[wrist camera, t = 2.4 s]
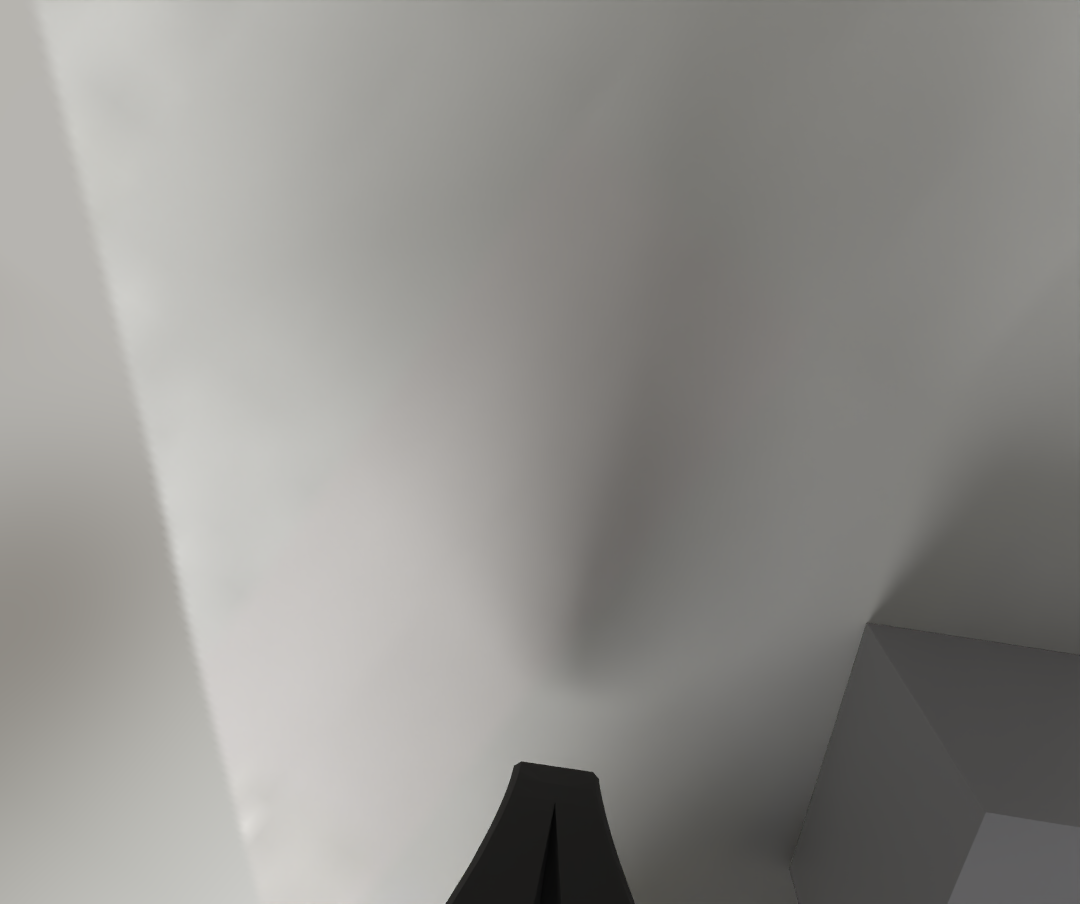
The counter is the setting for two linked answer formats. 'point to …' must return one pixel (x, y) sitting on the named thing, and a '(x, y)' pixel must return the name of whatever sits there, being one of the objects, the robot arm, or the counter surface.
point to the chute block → (947, 777)
